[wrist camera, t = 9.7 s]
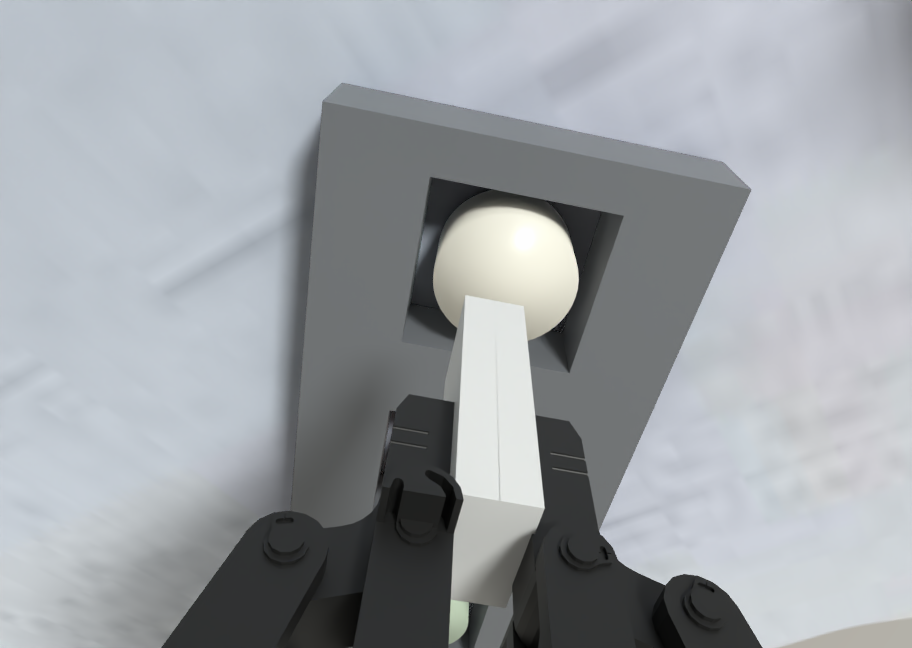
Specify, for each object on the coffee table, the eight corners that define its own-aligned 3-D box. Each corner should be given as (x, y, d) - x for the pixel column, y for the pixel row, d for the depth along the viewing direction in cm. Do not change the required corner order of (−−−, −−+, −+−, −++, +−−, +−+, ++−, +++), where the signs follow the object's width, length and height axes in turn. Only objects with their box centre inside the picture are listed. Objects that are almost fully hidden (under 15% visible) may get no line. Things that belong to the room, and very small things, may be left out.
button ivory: (428, 297, 26) (422, 330, 24) (451, 176, 24) (447, 200, 21) (551, 320, 27) (556, 355, 24) (587, 203, 24) (597, 230, 22)
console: (294, 604, 38) (279, 652, 35) (342, 82, 23) (322, 101, 20) (524, 642, 39) (526, 692, 36) (723, 162, 23) (751, 189, 21)
